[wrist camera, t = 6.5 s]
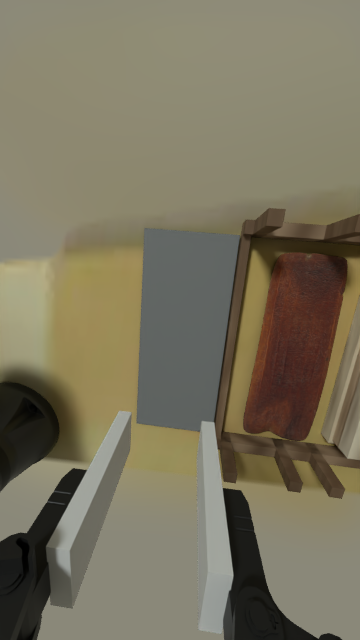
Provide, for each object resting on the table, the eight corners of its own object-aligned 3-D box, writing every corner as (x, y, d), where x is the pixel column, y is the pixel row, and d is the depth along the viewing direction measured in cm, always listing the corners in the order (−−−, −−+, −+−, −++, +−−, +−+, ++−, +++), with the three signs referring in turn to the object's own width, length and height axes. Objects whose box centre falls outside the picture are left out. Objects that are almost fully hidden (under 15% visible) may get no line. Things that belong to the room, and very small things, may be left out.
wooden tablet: (304, 437, 33) (310, 446, 31) (239, 428, 33) (241, 436, 32) (356, 257, 26) (367, 257, 25) (274, 249, 27) (279, 248, 25)
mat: (137, 420, 35) (136, 423, 34) (145, 229, 28) (144, 228, 27) (211, 430, 34) (212, 433, 33) (239, 236, 27) (239, 235, 26)
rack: (212, 438, 34) (216, 480, 27) (242, 223, 27) (258, 207, 20) (378, 460, 33) (425, 510, 26) (459, 238, 25) (557, 227, 18)
